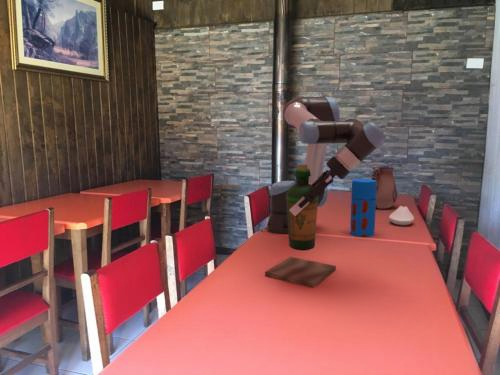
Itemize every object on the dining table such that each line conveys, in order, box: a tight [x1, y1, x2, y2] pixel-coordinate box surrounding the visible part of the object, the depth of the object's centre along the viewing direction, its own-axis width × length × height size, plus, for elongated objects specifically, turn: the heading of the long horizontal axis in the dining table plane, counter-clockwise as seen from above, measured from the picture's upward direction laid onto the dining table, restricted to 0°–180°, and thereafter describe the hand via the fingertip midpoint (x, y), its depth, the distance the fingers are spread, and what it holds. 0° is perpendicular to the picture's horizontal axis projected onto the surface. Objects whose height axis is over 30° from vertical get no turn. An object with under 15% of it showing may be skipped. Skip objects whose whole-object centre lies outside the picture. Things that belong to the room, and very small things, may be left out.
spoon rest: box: [388, 205, 415, 226], centre depth 205 cm, size 24×12×7 cm, turn 156°
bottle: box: [286, 164, 319, 252], centre depth 132 cm, size 11×11×28 cm
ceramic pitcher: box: [370, 165, 398, 210], centre depth 236 cm, size 18×21×25 cm
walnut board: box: [264, 256, 337, 288], centre depth 136 cm, size 18×18×2 cm
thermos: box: [349, 178, 377, 238], centre depth 181 cm, size 11×11×25 cm
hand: (293, 209), depth 133 cm, fingers closed on bottle, 10 cm apart
